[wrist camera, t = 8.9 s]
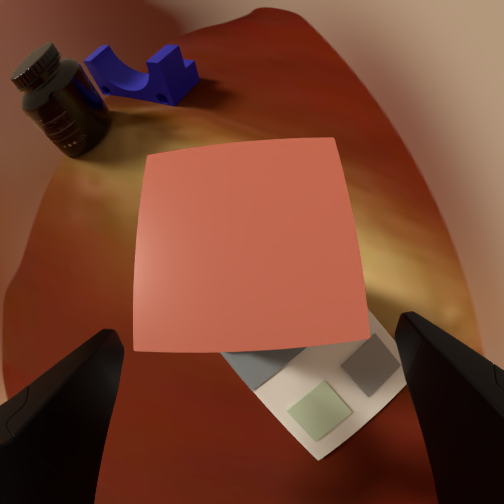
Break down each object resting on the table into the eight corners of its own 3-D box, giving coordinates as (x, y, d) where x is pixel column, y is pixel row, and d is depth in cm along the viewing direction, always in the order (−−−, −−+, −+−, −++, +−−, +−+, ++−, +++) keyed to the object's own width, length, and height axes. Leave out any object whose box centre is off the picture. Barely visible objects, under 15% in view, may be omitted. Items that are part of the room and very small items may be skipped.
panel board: (414, 370, 16) (420, 371, 15) (317, 457, 15) (319, 462, 14) (279, 213, 20) (279, 208, 19) (178, 293, 19) (174, 290, 18)
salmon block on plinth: (309, 343, 17) (384, 350, 5) (218, 349, 17) (122, 363, 5) (301, 256, 18) (341, 129, 7) (215, 262, 19) (139, 148, 7)
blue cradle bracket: (200, 81, 26) (188, 37, 20) (175, 107, 25) (158, 62, 19) (126, 72, 28) (110, 38, 22) (103, 94, 27) (83, 61, 21)
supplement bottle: (70, 122, 26) (21, 56, 14) (117, 103, 26) (73, 24, 14) (57, 167, 24) (-9, 99, 12) (107, 148, 24) (45, 61, 12)
